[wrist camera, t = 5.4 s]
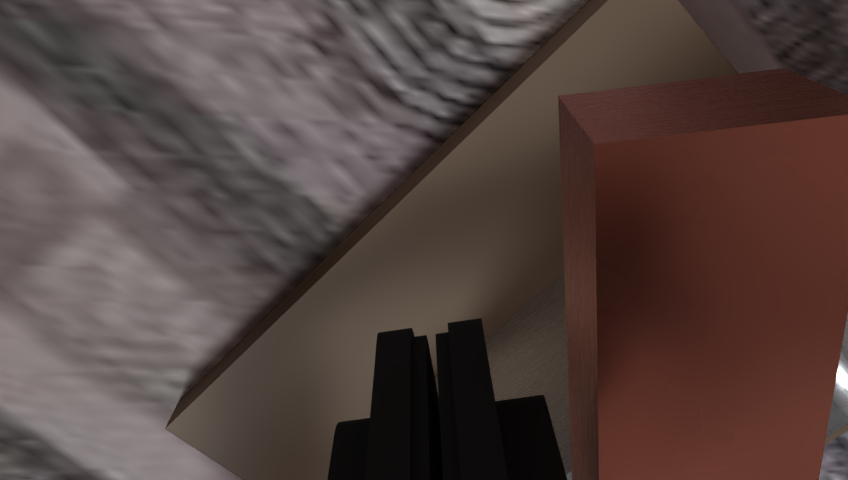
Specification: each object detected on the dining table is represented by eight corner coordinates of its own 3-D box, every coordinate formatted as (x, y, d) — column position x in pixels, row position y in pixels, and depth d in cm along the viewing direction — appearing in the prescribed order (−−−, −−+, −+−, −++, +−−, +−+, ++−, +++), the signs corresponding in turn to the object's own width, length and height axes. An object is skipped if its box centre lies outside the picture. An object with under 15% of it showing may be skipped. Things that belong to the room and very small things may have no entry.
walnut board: (938, 330, 25) (968, 354, 23) (497, 616, 31) (501, 648, 30) (631, -41, 19) (647, -38, 18) (178, 402, 26) (164, 428, 25)
